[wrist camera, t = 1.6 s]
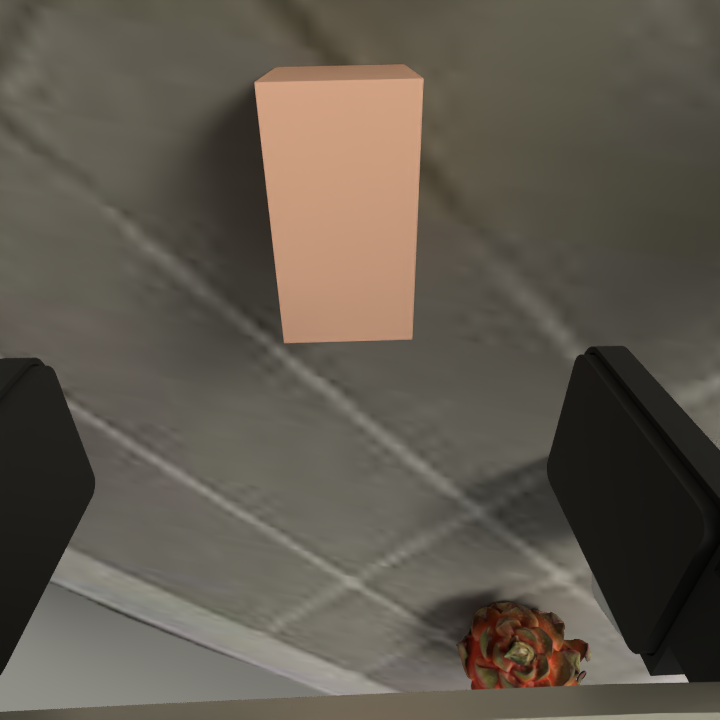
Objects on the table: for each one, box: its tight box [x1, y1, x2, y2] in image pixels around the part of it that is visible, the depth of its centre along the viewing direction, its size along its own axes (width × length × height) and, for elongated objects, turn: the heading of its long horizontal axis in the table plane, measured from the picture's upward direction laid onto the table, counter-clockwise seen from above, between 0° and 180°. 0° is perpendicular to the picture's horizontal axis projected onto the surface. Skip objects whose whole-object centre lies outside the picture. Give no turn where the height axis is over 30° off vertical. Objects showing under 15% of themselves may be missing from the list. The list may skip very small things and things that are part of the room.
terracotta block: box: [254, 64, 424, 343], centre depth 20 cm, size 5×9×6 cm, turn 1°
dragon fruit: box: [457, 602, 591, 690], centre depth 39 cm, size 8×8×12 cm
